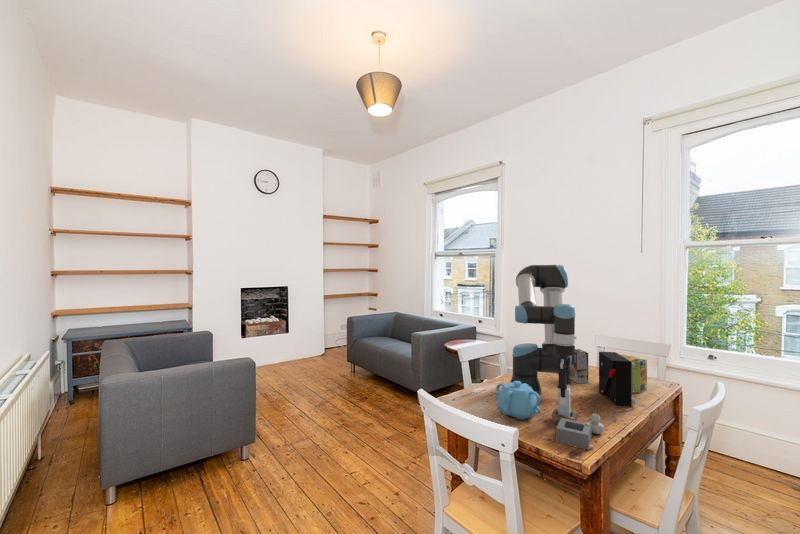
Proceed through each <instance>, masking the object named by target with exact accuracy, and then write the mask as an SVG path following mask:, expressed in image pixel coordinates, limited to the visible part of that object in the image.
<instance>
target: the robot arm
mask: <svg viewBox="0 0 800 534" xmlns="http://www.w3.org/2000/svg"><path fill="white" fill-rule="evenodd" d="M515 285H516V287H517V291H518V292H517V293H518V294H517V295H518V305H516V306H515V307H514V321H515V322H516V323H518V324H525V325H526V324H535V325H536V324H537V325H538V324H539V325H540V324H541V325H544V341H543V342H542V343H541V347H540V346H538V344H537V343H527V342H526V343H520V344H515V345H514V346H513V347H512V355H511V357H512V376H511V379H510V382H513V381H520V382H521V384H523V383H526V384H528V385H529V386H530V387H531V388H532V389H533V391H535V392H537V393H538V394H539V396H540V397H541V395H542V387H541V384H540V381H539V377H538V376H539V375H538V373H548V374H558V376H557V377H558V386H556V387H557V389H558V388H559V404H560V405H565V406H567V387H570V385H572V382H570V381H571V379H570V367H571V361H572V355H574V354H575V349H576V346H575V344H576V343H575V341H576V340H577V336H576V334H575V333H576V332H575V331H576V330H575V327H576V324H575V322H576V312H575V310H576V309H575V306H574V305H572V304H568V303H567V304H566V303H564V304H563V295H562V294H563V293H564V292H565V291H566V288H568V287H569V277H568V273H567V269H566V268H565V266H564V265H561V264H531V265H528V266H526V267H523V268H522V269H521V270H519V272H518V274H516V277H515ZM535 288H539V291H540V292H541V293H542V295H543V305H538V304H537V297H536V290H535ZM510 382H509V383H510Z"/></svg>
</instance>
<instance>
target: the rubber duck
mask: <svg viewBox="0 0 800 534" xmlns="http://www.w3.org/2000/svg"><path fill="white" fill-rule="evenodd" d="M587 423H589V424H591V434H595V435H600V434H602V433H603V432H604V431H605V426H604V424H602V423H601V417H600V415H599V414H598V413H596V411H594V412H593V413H592V414H591V416H590V421H588V422H587Z"/></svg>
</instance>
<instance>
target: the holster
mask: <svg viewBox="0 0 800 534" xmlns="http://www.w3.org/2000/svg"><path fill="white" fill-rule="evenodd" d="M561 418H565V419H569V420H574V421H578V412H577V411H576V410H575V411H574V410H571V417H568V416H563V415H558V407H554V409H553V412H552V413H551V426H552V425H553V426H556V427H557V425H558V423H559V421H560V419H561Z"/></svg>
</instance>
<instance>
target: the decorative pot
mask: <svg viewBox="0 0 800 534" xmlns="http://www.w3.org/2000/svg"><path fill="white" fill-rule="evenodd" d="M496 392H497V396H496V397H495V401H496V406H497V408H498V410H499V411H500V412H501V413H502V414H503V413H504V414H506V415H505V416H510V417H513V418H517V419H518V420H519V419H521V420H520V421H524V420H525V419H529V418H531V417H533V416H535V415H540V414H541V413H542V409H541V408H540V407H539V404H540V402H541V395H540V396H539V394H538V393H537V392H535V391H533V389H532V388H531V387H530V386H529V385H528V384H526V383H523V384H521V382H520V381H513V382H507V383H504V382H500V383H498V384H497V385H496ZM504 414H503V415H504ZM523 419H524V420H523Z"/></svg>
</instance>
